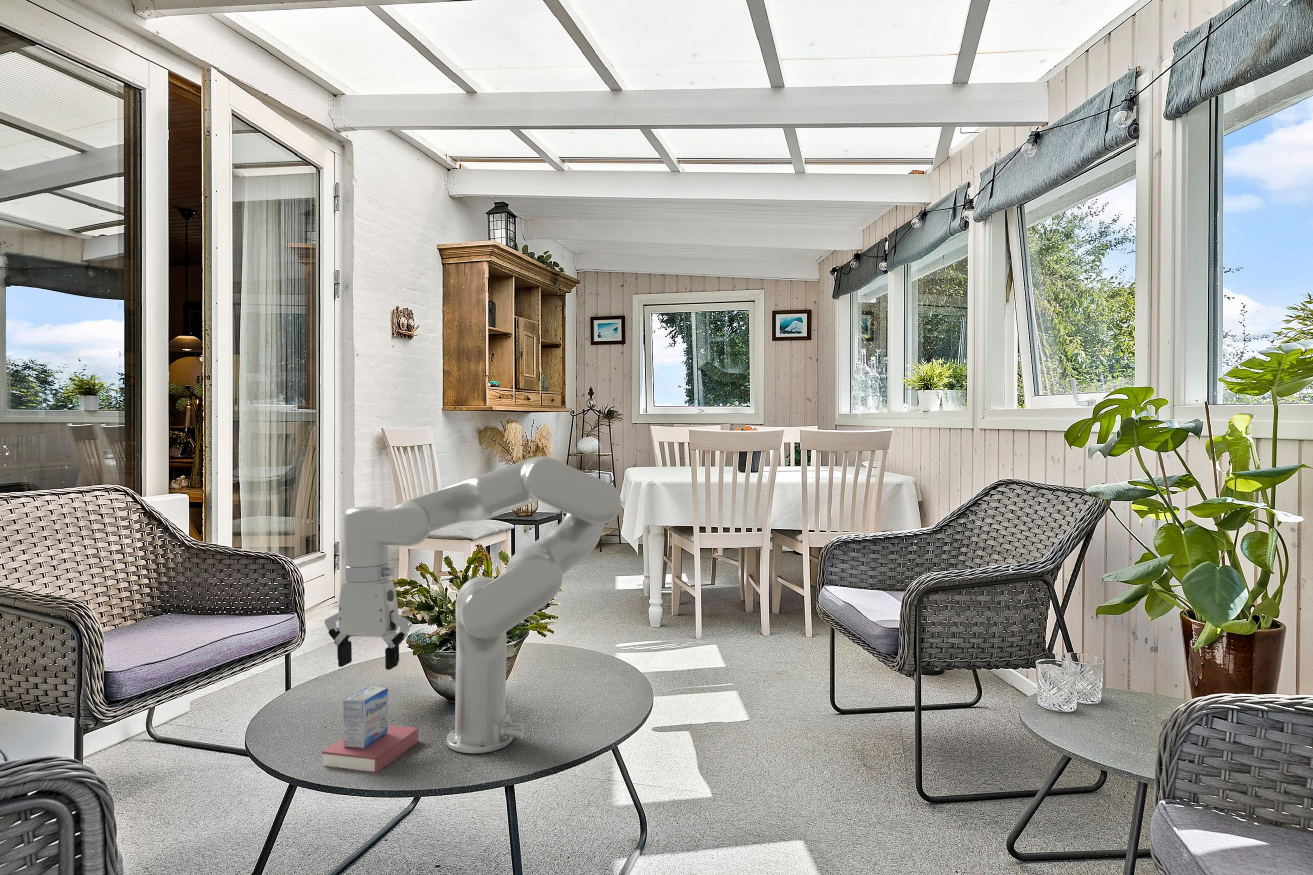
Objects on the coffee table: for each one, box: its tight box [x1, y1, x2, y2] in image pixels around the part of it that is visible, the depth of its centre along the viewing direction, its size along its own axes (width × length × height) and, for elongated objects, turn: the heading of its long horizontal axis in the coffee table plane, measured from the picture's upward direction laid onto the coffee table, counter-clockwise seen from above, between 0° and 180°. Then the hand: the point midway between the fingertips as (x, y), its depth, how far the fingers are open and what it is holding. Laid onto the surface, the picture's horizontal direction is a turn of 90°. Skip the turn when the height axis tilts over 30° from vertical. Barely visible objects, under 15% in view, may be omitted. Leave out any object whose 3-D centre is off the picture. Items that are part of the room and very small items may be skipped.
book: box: [321, 724, 419, 774], centre depth 140 cm, size 11×14×3 cm
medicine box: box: [342, 686, 389, 749], centre depth 139 cm, size 8×4×9 cm, turn 168°
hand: (368, 666), depth 139 cm, fingers open, 9 cm apart
